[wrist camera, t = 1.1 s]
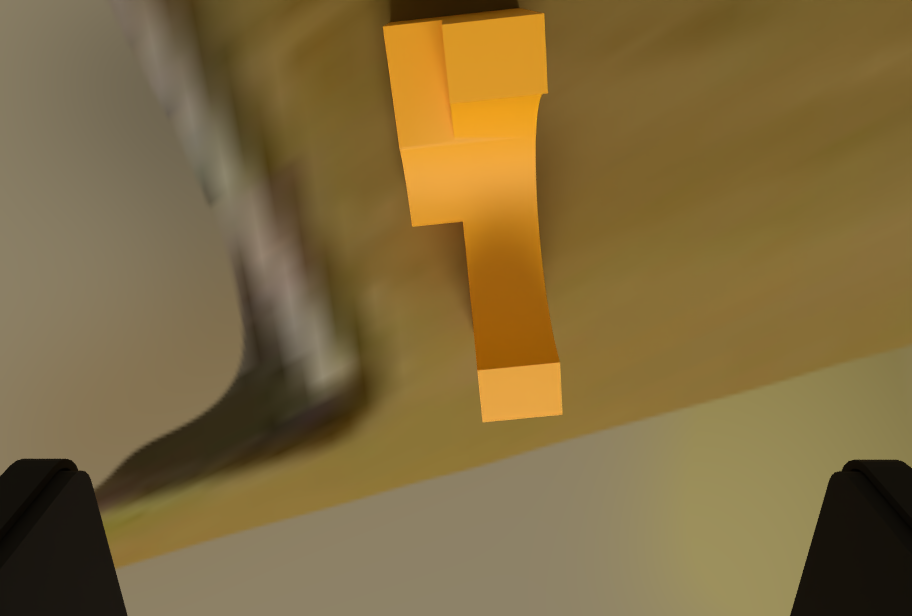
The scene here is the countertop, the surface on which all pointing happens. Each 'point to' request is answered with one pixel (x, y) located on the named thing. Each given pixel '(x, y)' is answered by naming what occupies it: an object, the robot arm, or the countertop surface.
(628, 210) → the countertop surface
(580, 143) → the countertop surface
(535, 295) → the pipe clamp
